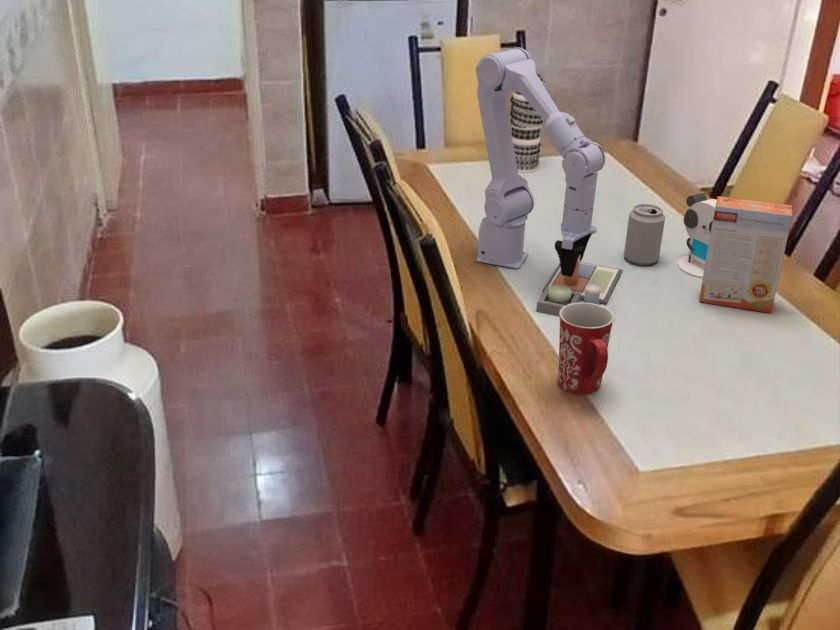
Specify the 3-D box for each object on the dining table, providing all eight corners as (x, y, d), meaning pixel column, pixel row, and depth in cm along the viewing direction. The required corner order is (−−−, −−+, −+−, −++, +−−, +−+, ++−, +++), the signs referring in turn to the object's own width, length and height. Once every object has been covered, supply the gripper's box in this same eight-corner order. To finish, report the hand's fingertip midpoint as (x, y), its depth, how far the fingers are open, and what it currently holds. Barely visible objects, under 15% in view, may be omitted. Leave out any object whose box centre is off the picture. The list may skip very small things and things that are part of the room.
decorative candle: (504, 172, 252) (510, 78, 240) (507, 160, 260) (513, 69, 248) (538, 174, 251) (546, 80, 239) (540, 162, 259) (548, 71, 247)
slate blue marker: (580, 317, 183) (583, 289, 180) (584, 310, 185) (587, 282, 182) (595, 320, 182) (598, 292, 179) (598, 313, 184) (602, 285, 181)
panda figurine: (663, 261, 206) (674, 196, 198) (701, 250, 211) (713, 187, 203) (704, 283, 197) (716, 216, 189) (743, 272, 202) (756, 206, 194)
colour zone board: (542, 292, 191) (542, 288, 191) (562, 261, 204) (562, 257, 204) (606, 305, 187) (606, 300, 187) (622, 272, 200) (622, 268, 200)
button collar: (536, 310, 185) (537, 301, 184) (545, 295, 190) (546, 286, 189) (571, 318, 182) (572, 308, 181) (579, 302, 188) (581, 293, 187)
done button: (545, 301, 184) (546, 292, 183) (551, 292, 188) (552, 283, 187) (567, 306, 183) (568, 296, 182) (572, 296, 187) (573, 287, 186)
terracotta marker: (562, 284, 193) (564, 256, 190) (564, 278, 195) (567, 251, 192) (576, 286, 192) (579, 259, 189) (578, 280, 194) (581, 253, 192)
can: (658, 268, 202) (666, 216, 196) (623, 265, 204) (630, 213, 198) (658, 254, 209) (666, 203, 203) (623, 250, 210) (630, 200, 204)
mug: (545, 371, 165) (552, 303, 159) (594, 367, 167) (603, 299, 160) (568, 412, 154) (576, 341, 148) (620, 407, 156) (631, 337, 149)
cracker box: (772, 301, 190) (793, 204, 180) (771, 314, 185) (793, 215, 175) (700, 289, 194) (717, 193, 184) (697, 302, 189) (715, 204, 179)
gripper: (590, 222, 178) (582, 286, 185) (606, 195, 190) (599, 256, 197) (554, 215, 181) (547, 279, 187) (572, 190, 192) (565, 250, 199)
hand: (571, 267), depth 192 cm, fingers open, 7 cm apart
